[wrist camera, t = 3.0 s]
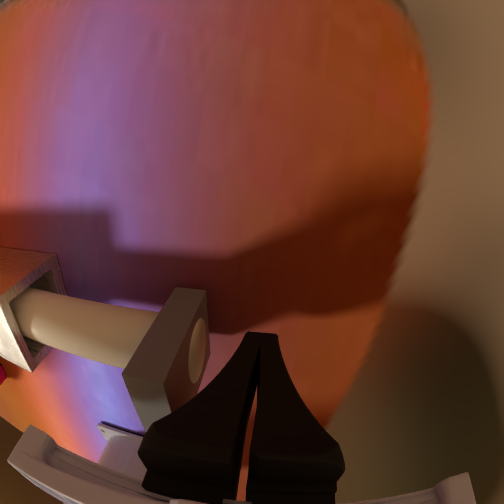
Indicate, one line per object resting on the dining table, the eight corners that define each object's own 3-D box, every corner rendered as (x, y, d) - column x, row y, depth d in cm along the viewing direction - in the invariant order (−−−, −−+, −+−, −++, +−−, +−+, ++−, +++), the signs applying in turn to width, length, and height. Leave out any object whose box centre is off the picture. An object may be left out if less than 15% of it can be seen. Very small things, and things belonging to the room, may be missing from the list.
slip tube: (206, 290, 13) (162, 383, 8) (210, 353, 15) (181, 443, 10) (-38, 253, 16) (-81, 283, 10) (-25, 293, 17) (-63, 326, 12)
